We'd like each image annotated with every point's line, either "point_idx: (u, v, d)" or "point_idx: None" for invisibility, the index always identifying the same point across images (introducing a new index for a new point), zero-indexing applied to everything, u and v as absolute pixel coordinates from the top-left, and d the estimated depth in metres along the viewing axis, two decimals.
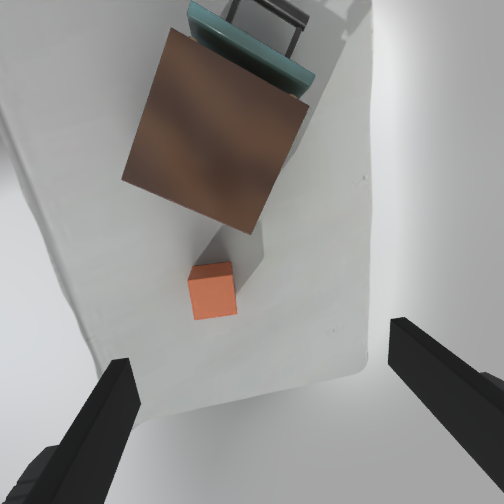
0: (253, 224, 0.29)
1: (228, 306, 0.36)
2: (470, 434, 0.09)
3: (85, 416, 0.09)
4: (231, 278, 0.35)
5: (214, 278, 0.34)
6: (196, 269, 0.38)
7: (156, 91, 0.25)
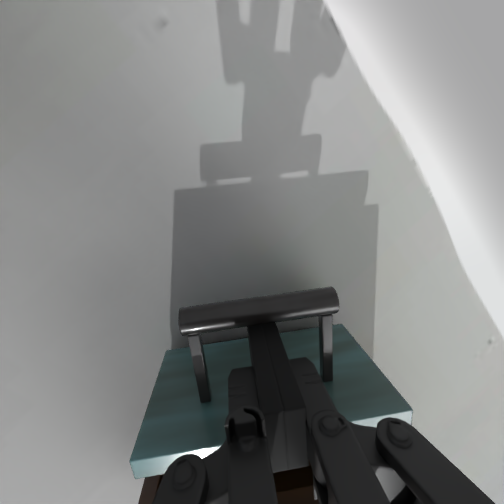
0: None
1: None
2: None
3: (257, 347, 0.12)
4: None
5: None
6: None
7: None
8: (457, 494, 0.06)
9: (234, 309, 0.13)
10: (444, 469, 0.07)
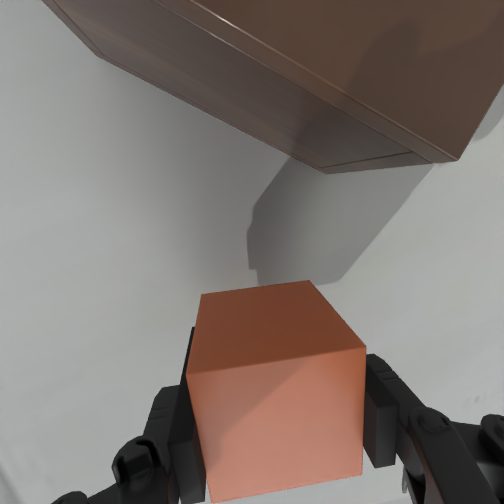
0: (477, 114, 0.07)
1: (337, 453, 0.10)
2: None
3: None
4: (361, 360, 0.09)
5: (296, 361, 0.08)
6: (213, 305, 0.12)
7: None
8: None
9: None
10: None
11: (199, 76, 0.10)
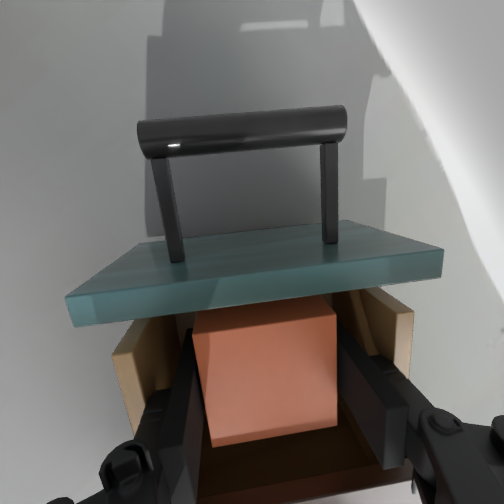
0: None
1: (315, 405, 0.12)
2: (357, 406, 0.10)
3: (184, 366, 0.11)
4: (332, 325, 0.11)
5: (279, 325, 0.10)
6: None
7: None
8: None
9: (210, 118, 0.10)
10: None
11: None
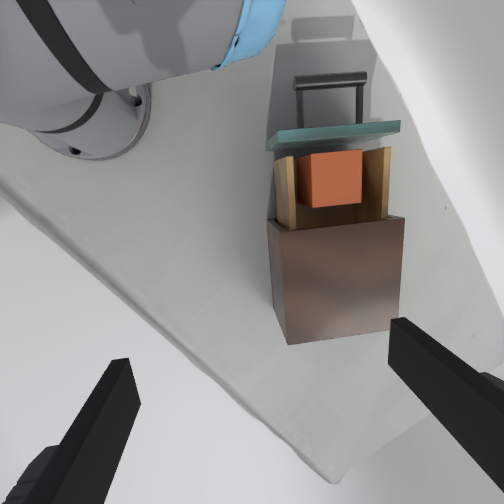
0: None
1: (353, 191, 0.30)
2: (469, 434, 0.09)
3: (85, 416, 0.09)
4: (361, 154, 0.29)
5: (341, 152, 0.29)
6: None
7: (288, 277, 0.30)
8: None
9: (319, 75, 0.28)
10: None
11: None
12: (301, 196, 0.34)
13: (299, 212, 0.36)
